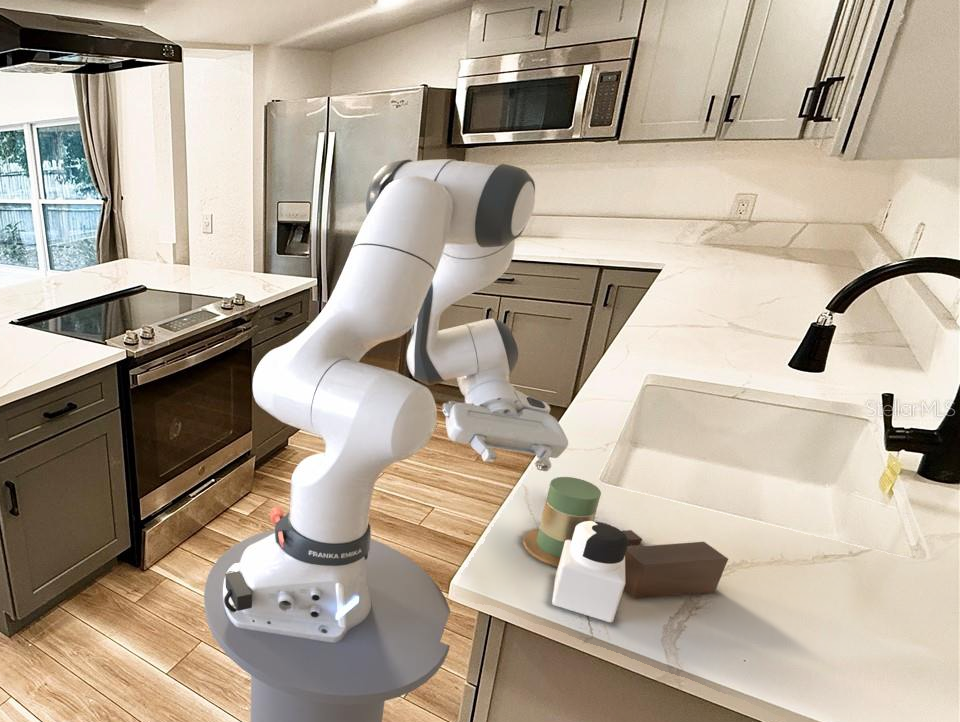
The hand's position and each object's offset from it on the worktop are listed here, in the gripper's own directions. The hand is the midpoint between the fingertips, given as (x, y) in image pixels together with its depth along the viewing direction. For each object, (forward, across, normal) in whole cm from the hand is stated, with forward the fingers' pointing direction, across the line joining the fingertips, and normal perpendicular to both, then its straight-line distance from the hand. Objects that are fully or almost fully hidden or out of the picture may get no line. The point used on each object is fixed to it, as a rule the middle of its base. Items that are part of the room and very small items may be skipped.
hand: (517, 464), depth 104 cm
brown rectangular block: (+16, +14, +2) cm, 22 cm away
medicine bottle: (+24, +2, +2) cm, 24 cm away
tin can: (+17, +5, +2) cm, 17 cm away
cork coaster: (+13, +5, +5) cm, 15 cm away
